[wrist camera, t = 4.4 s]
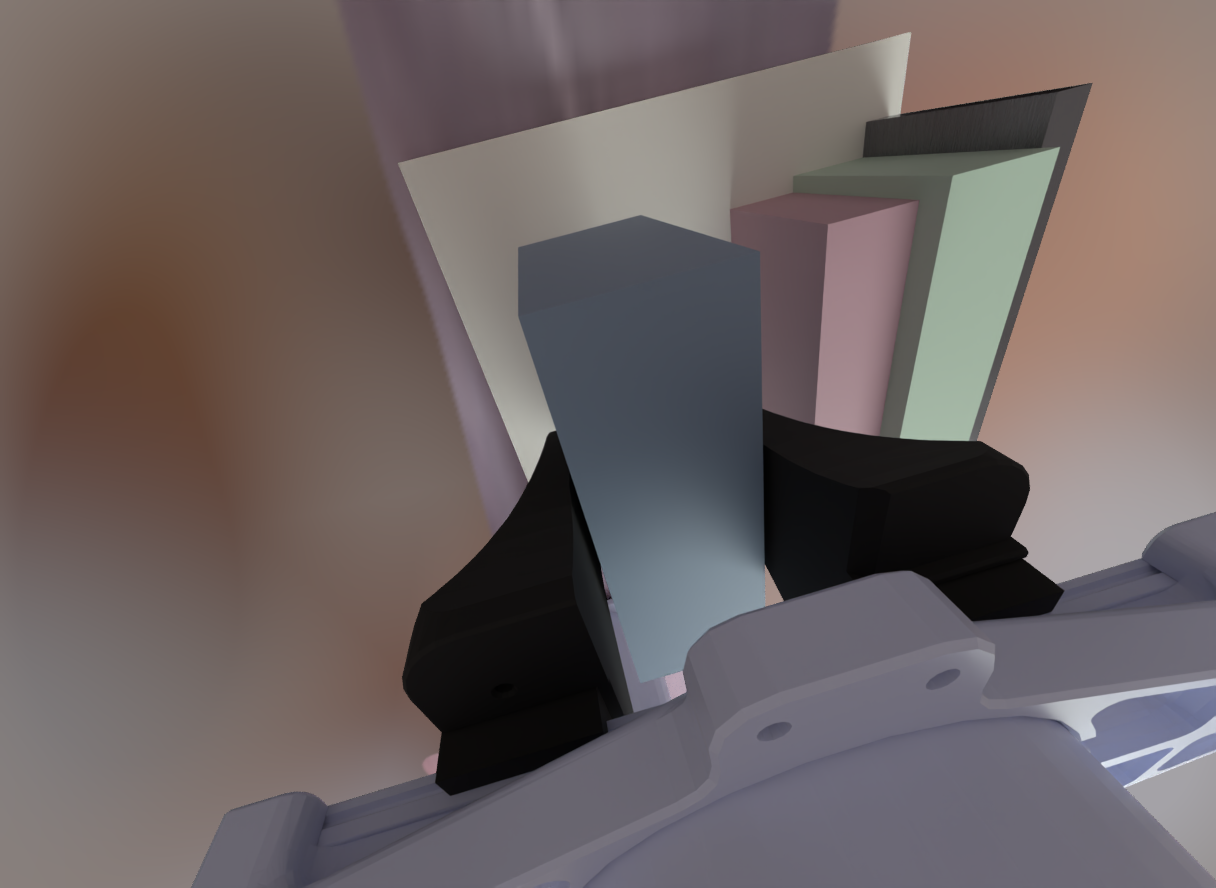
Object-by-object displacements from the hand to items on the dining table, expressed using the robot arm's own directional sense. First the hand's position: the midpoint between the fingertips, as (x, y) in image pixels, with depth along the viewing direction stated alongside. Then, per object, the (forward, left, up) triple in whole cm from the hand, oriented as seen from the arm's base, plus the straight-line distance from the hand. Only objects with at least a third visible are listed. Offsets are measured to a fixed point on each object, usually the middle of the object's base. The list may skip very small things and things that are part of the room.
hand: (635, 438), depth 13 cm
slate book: (0, 0, -3) cm, 3 cm away
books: (0, -8, -5) cm, 10 cm away
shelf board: (0, -3, -7) cm, 7 cm away
